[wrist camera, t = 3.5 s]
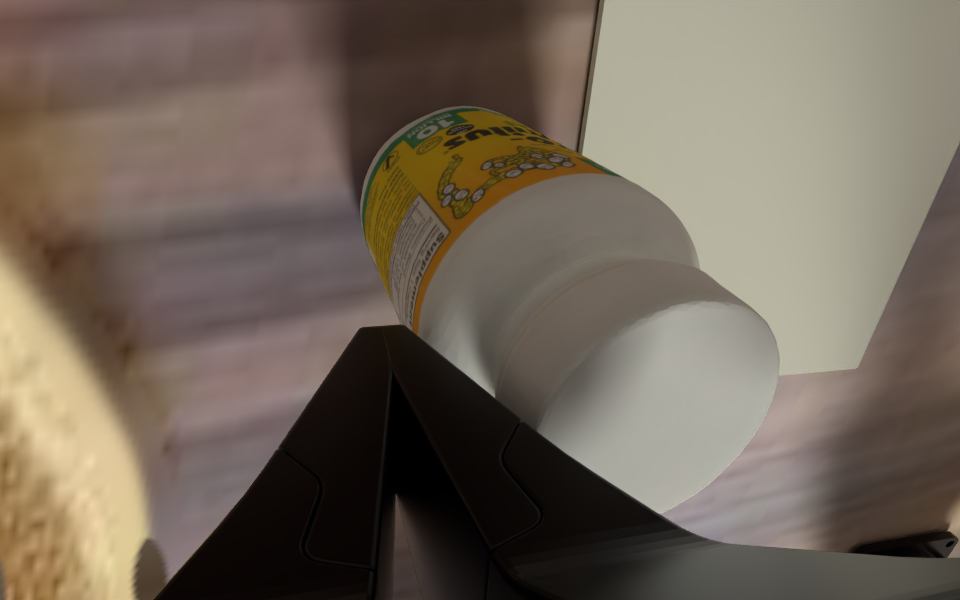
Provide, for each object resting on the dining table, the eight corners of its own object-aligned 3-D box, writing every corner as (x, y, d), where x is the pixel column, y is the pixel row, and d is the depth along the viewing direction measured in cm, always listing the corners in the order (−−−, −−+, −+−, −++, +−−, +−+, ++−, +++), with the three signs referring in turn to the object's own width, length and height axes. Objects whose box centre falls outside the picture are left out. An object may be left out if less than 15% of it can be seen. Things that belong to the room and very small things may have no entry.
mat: (1031, -41, 16) (1042, -42, 16) (851, 364, 23) (857, 368, 23) (612, -87, 13) (617, -88, 13) (544, 391, 20) (546, 396, 20)
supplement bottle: (339, 276, 16) (425, 581, 8) (382, 75, 14) (558, 208, 6) (512, 299, 18) (716, 552, 10) (571, 128, 16) (887, 277, 8)
